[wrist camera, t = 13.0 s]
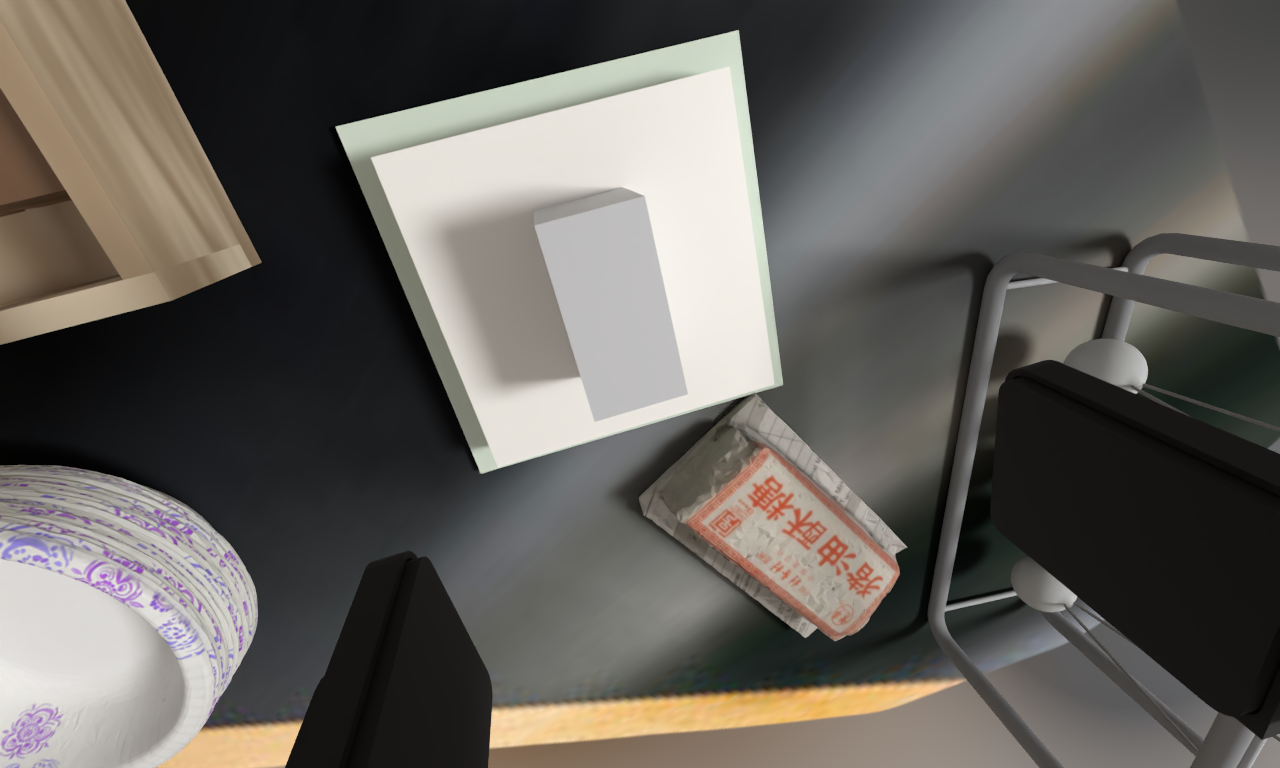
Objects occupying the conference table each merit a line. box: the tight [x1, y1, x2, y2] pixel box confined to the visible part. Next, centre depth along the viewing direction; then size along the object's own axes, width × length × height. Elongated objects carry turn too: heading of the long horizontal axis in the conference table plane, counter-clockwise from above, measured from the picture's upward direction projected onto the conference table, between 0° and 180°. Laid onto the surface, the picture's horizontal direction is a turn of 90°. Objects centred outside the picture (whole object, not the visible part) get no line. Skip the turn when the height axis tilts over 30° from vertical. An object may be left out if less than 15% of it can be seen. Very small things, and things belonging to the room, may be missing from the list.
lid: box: [371, 67, 775, 467], centre depth 24 cm, size 15×15×8 cm
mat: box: [336, 30, 783, 473], centre depth 28 cm, size 18×18×1 cm
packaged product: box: [639, 393, 908, 641], centre depth 35 cm, size 18×5×10 cm
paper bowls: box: [0, 465, 258, 768], centre depth 26 cm, size 15×15×8 cm
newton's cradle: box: [928, 233, 1280, 768], centre depth 30 cm, size 30×10×18 cm, turn 5°
